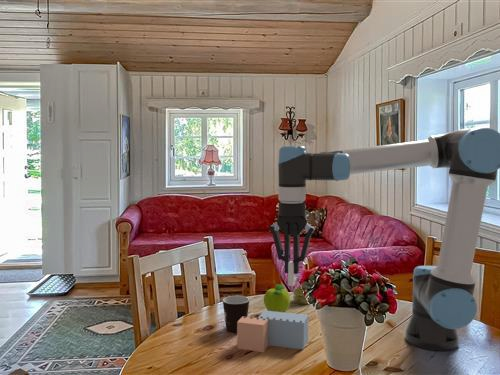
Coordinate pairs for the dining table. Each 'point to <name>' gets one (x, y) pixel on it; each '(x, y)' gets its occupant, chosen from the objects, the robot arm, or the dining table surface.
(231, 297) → the coffee mug
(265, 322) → the block
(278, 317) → the pad
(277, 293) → the fruit
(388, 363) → the dining table surface
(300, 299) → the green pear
